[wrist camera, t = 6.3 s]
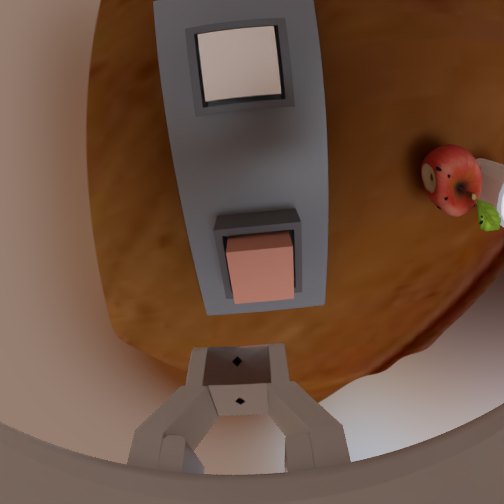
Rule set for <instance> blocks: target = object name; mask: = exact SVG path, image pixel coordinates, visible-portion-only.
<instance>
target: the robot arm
mask: <svg viewBox="0 0 504 504" xmlns="http://www.w3.org/2000/svg"><path fill="white" fill-rule="evenodd" d="M268 348H269V349H268ZM257 414H258V415H259V414H269V416H270V417H271V418H272V420H273V421H274V422H275V423H276V425H277V426H278V427H279V428H280V429H281V431H282V432H283V433H284V435H285V436H286V438H285V473H273V474H256V475H211V474H204V466H203V464H202V463H201V461H200V460H199V459H198V457H197V456H196V454H195V453H194V450H195V448H196V447H197V446H198V444H199V443H200V442H201V440H202V439H203V438H204V436H205V435H206V434H207V432H208V431H209V430H210V428H211V427H212V426H213V424H214V423H215V421H216V420H217V419H218V416H233V415H257ZM0 504H504V403H503V404H502V405H500V406H498V407H497V408H495V409H493V410H491V411H489V412H488V413H486V414H484V415H482V416H480V417H478V418H476V419H474V420H472V421H470V422H468V423H466V424H464V425H462V426H460V427H457V428H455V429H453V430H451V431H448V432H446V433H444V434H441V435H439V436H436V437H434V438H431V439H429V440H426V441H423V442H421V443H418V444H415V445H412V446H409V447H406V448H403V449H400V450H397V451H393V452H390V453H387V454H383V455H380V456H376V457H372V458H368V459H364V460H360V461H355V462H351V461H350V456H349V452H348V447H347V443H346V439H345V434H344V430H343V426H342V425H341V424H340V423H339V422H338V421H337V420H336V419H335V418H333V416H331V415H330V414H329V413H328V412H327V411H326V410H325V409H324V408H323V407H321V406H320V405H319V404H318V403H317V402H316V401H315V400H314V399H313V398H312V397H311V396H310V395H308V394H307V393H306V392H305V391H304V390H303V389H302V388H301V387H300V386H299V385H298V384H297V383H296V382H295V381H291V382H290V379H289V372H288V365H287V357H286V350H285V345H284V343H277V344H269V345H268V344H265V345H253V346H239V347H209V348H193V350H192V353H191V358H190V363H189V369H188V374H187V380H186V385H185V386H181V387H180V388H179V389H178V390H177V391H176V392H174V393H173V394H172V395H171V396H170V397H169V398H168V399H167V400H166V401H165V402H164V403H163V404H162V405H161V406H160V407H159V408H158V409H157V410H156V411H155V412H154V413H153V414H152V415H151V416H150V417H149V418H148V419H146V421H144V422H143V423H142V424H141V425H140V426H139V427H138V428H137V429H136V430H135V433H134V438H133V441H132V445H131V450H130V454H129V458H128V462H127V465H126V464H121V463H116V462H112V461H108V460H103V459H99V458H95V457H92V456H88V455H84V454H81V453H78V452H74V451H71V450H68V449H65V448H62V447H59V446H56V445H53V444H50V443H48V442H45V441H42V440H40V439H38V438H35V437H33V436H30V435H28V434H25V433H23V432H21V431H18V430H16V429H14V428H12V427H10V426H8V425H6V424H4V423H2V422H0Z"/></svg>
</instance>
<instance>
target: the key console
mask: <svg viewBox="0 0 504 504" xmlns="http://www.w3.org/2000/svg"><path fill="white" fill-rule="evenodd" d="M153 7H154V20H155V32H156V42H157V52H158V61H159V70H160V78H161V86H162V93H163V100H164V107H165V114H166V121H167V127H168V134H169V140H170V146H171V152H172V157H173V163H174V169H175V174H176V179H177V185H178V190H179V195H180V200H181V205H182V210H183V215H184V220H185V224H186V229H187V233H188V238H189V243H190V247H191V251H192V256H193V260H194V264H195V269H196V273H197V277H198V281H199V285H200V289H201V293H202V297H203V301H204V305H205V309H206V312H207V315H222V314H236V313H249V312H260V311H271V310H282V309H292V308H301V307H310V306H318V305H325V293H326V275H327V252H328V149H327V126H326V109H325V95H324V83H323V71H322V61H321V52H320V44H319V35H318V28H317V21H316V14H315V7H314V1H313V0H158V1H154V2H153ZM266 26H274V32H275V40H276V48H277V57H278V66H279V75H280V85H281V94H278V95H265V96H253V97H243V98H234V99H226V100H218V101H211V102H205V94H204V86H203V78H202V70H201V61H200V53H199V44H198V35H197V34H203V33H209V32H216V31H223V30H231V29H240V28H251V27H266ZM283 230H288V231H289V235H290V238H291V242H292V245H293V268H294V299H285V300H275V301H264V302H253V303H241V304H235V302H234V297H233V291H232V285H231V280H230V274H229V268H228V262H227V256H226V248H227V240H228V236H230V235H240V234H251V233H261V232H272V231H283Z"/></svg>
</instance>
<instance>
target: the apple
mask: <svg viewBox="0 0 504 504" xmlns="http://www.w3.org/2000/svg"><path fill="white" fill-rule="evenodd" d="M421 177H422V181H423V185H424V188H425V191H426V193H427V195H428V196H429V198H430V199H431V200H432V202H433V203H434V204H435V205H436V206H437V208H439V209H441V210H442V211H443V212H445V213H446V214H448V215H451V216H462V215H464V214H466V213H467V212H468V211H469V210H470V209H471V208H472V207H474V206H475V203H476V202H477V208H478V222H479V225H480V228H481V229H484V231H491V230H499V228H500V223H501V217H499V213H498V211H497V210H496V209H495V208H493V207H494V206H493V205H492V204H490V203H487V202H484V201H481V200H478V199H479V196H480V194H481V190H482V174H481V168H480V166H479V164H478V162H477V160H476V159H475V158H474V156H473V155H472V154H471V153H470V152H469V151H467V150H466V149H464V148H462V147H460V146H457V145H444V146H440V147H438V148H436V149H434V150H432V151H431V152H430V153H429V154H428V155H427V156H426V157H425V158H424V160H423V161H422V164H421Z"/></svg>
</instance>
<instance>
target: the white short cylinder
mask: <svg viewBox="0 0 504 504" xmlns="http://www.w3.org/2000/svg"><path fill="white" fill-rule="evenodd" d="M476 160H477V162H478V164H479V166H480V168H481V174H482V190H481V194H480V196H479V199H478V200H481V201H484V202H487V203H490V204H492V205H493V206H494V207H493V208H495V209H496V210H497V211H498V213H499V217H501V223H500V225H501V226H503V227H504V165H503V164H500V163H497V162H494V161H490V160H487V159H483V158H478V159H476ZM476 204H477V202H476Z"/></svg>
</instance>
